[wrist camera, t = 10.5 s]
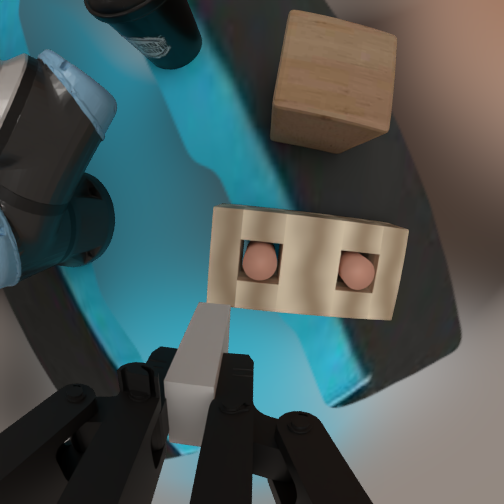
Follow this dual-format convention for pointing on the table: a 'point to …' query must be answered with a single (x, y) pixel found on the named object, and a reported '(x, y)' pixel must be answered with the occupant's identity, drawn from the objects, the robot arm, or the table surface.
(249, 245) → the peg
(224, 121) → the table surface
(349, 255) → the peg
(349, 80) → the wooden block
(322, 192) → the table surface
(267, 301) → the socket board
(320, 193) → the table surface
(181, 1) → the water bottle
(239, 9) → the table surface
